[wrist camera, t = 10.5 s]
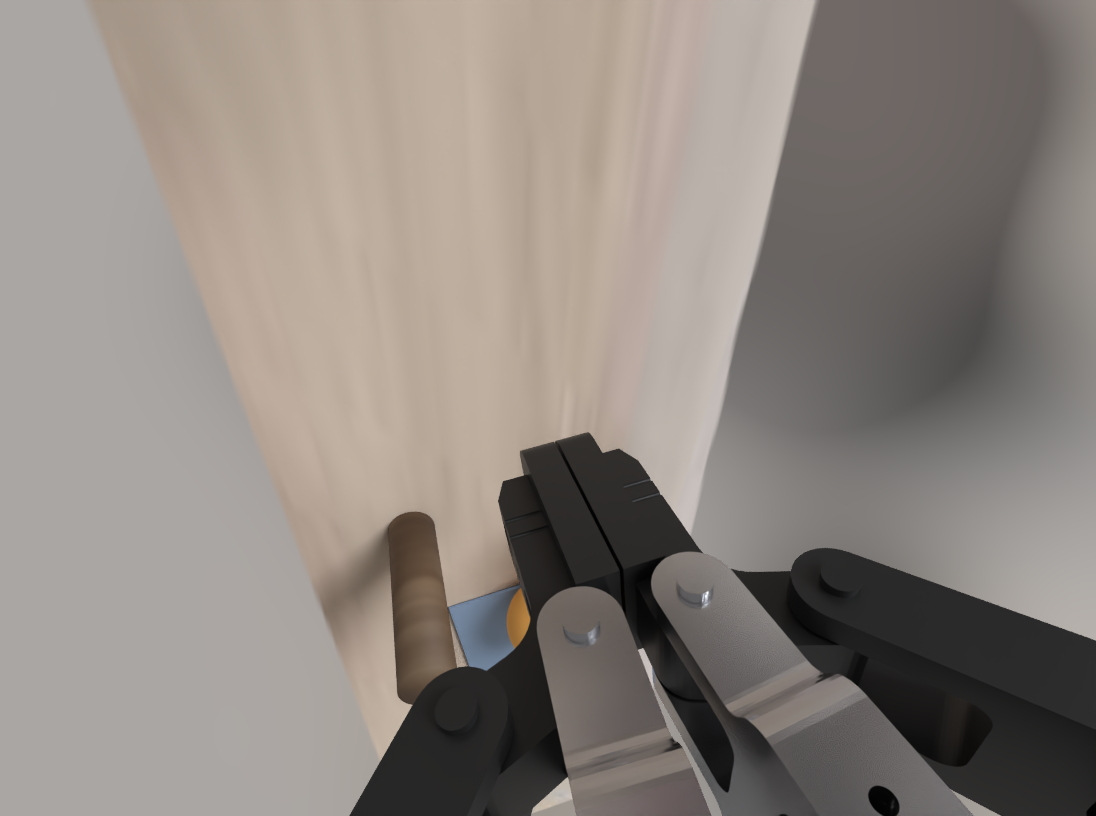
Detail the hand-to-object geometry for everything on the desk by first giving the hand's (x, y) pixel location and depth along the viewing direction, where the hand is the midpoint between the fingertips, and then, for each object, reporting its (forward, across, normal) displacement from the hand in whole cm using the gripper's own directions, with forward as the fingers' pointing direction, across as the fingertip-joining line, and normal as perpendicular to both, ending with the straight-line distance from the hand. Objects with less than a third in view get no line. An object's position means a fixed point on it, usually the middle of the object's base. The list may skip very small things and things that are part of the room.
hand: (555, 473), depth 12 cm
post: (+14, +6, +13) cm, 20 cm away
